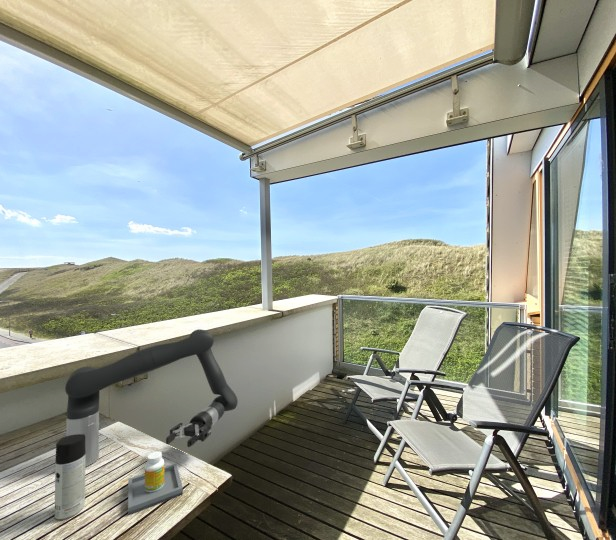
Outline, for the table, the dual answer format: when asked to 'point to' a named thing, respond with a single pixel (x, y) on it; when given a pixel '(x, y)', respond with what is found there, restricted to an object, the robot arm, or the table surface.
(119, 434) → the table surface
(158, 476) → the supplement bottle
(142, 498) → the tray
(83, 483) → the spray can
